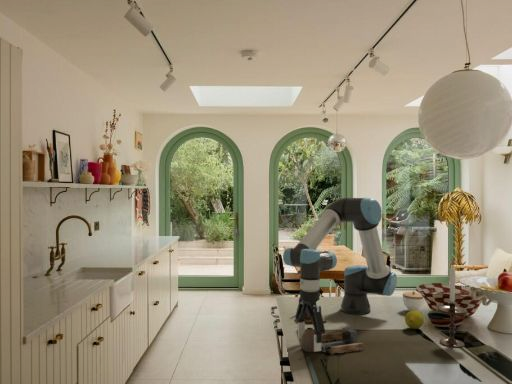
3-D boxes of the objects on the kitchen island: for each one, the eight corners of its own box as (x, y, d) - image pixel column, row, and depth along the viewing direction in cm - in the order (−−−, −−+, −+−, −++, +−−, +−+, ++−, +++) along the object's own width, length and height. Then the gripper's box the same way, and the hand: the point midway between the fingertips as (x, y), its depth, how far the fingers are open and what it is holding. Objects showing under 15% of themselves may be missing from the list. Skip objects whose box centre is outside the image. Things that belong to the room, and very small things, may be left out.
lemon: (411, 323, 197) (411, 306, 197) (427, 327, 191) (427, 310, 191) (400, 329, 189) (400, 311, 189) (417, 333, 184) (417, 315, 184)
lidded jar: (426, 308, 223) (426, 290, 223) (422, 313, 214) (422, 294, 214) (405, 305, 228) (405, 287, 228) (400, 310, 219) (400, 292, 219)
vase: (307, 355, 159) (308, 332, 159) (297, 349, 165) (297, 327, 165) (322, 352, 162) (322, 329, 162) (311, 346, 168) (311, 324, 168)
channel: (343, 338, 177) (343, 331, 177) (363, 351, 163) (363, 343, 163) (313, 342, 172) (313, 335, 172) (331, 356, 159) (331, 348, 159)
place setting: (286, 319, 205) (286, 307, 205) (307, 309, 221) (308, 298, 221) (318, 326, 194) (318, 313, 194) (338, 316, 210) (338, 304, 210)
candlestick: (441, 337, 179) (442, 255, 178) (469, 344, 172) (470, 257, 171) (433, 345, 170) (434, 258, 170) (462, 351, 163) (463, 261, 163)
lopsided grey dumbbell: (346, 340, 175) (346, 325, 174) (359, 348, 166) (359, 332, 166) (311, 344, 169) (311, 329, 169) (322, 353, 160) (323, 337, 160)
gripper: (287, 283, 174) (287, 335, 174) (316, 298, 150) (315, 357, 150) (304, 282, 176) (303, 333, 176) (334, 296, 153) (334, 355, 153)
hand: (309, 344), depth 163 cm, fingers open, 13 cm apart
